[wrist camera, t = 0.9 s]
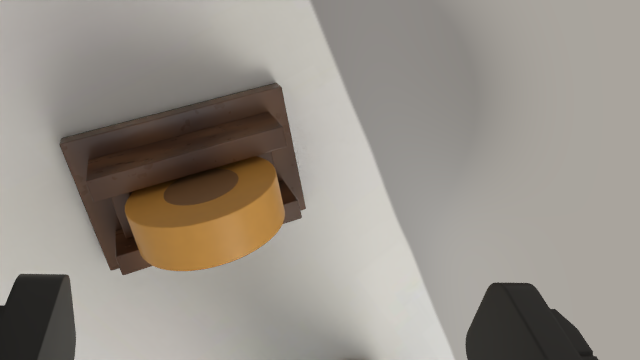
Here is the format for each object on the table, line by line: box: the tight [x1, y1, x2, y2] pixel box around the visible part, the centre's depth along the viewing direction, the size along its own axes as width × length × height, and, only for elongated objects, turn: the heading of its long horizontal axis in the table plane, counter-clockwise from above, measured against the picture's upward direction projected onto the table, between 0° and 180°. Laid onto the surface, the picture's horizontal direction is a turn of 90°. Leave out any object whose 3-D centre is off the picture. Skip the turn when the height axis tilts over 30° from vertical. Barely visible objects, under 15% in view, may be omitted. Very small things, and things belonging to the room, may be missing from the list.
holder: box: [60, 83, 306, 275], centre depth 30 cm, size 12×8×4 cm, turn 100°
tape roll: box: [125, 156, 285, 271], centre depth 28 cm, size 8×2×8 cm, turn 100°
